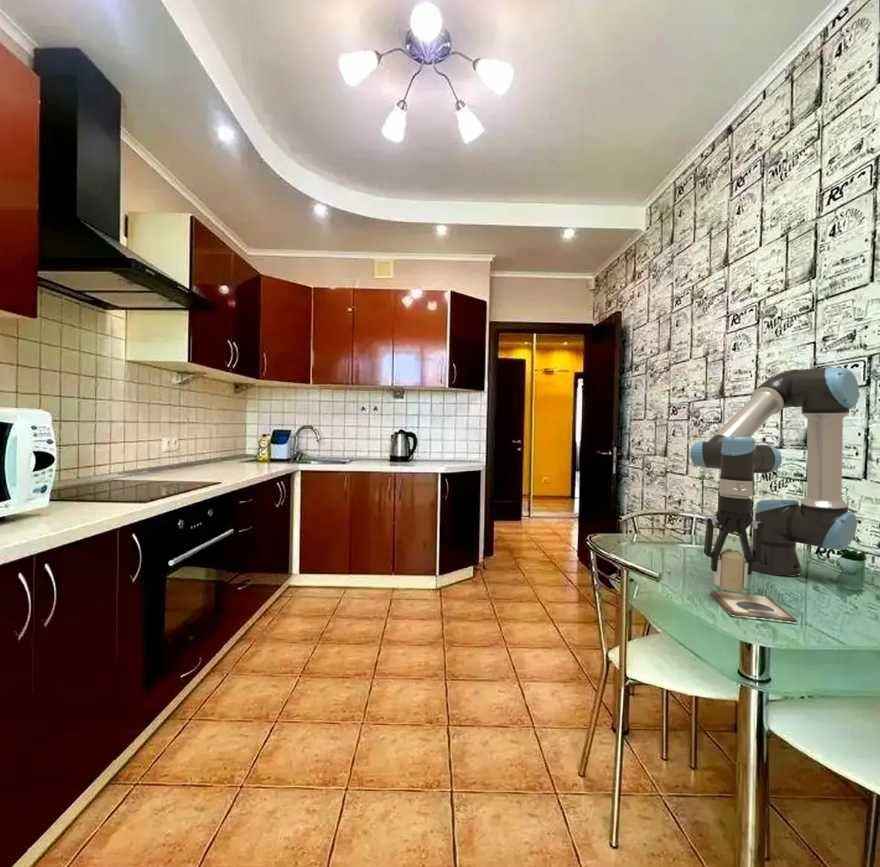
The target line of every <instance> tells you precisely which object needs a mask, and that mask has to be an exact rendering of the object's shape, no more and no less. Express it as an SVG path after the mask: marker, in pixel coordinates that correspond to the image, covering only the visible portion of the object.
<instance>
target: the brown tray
mask: <svg viewBox="0 0 880 867" xmlns="http://www.w3.org/2000/svg"><path fill="white" fill-rule="evenodd" d="M709 594H710V596H711V597H712V598H713V599H714V600H715V601H716V603H718V605H719V606H722V607H723V608H724V609H725V610H726V611H727V612H729V613H730V614H731V615H735V616H748V617H756V618H765V619H774V620H782V621H791V622H797V623H798V620H797V618H795V617H794V616H792V615H791V614H790V613H789V612H788V611H786V610H785V609H784V608H783V607H781V606H780V605H779V604H777V602H775V601H774V600H773V599H772V598H770V597H769V596H764V595H758V594H757V595H755V594H745V593H737V592H729V591H728V592H727V591H720V590H719V591H718V590H710V593H709ZM722 607H721V608H722ZM723 608H722V609H723ZM724 609H723V610H724ZM725 610H724V611H725ZM726 611H725V612H726ZM727 612H726V613H727Z"/></svg>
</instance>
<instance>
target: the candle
mask: <svg viewBox="0 0 880 867" xmlns="http://www.w3.org/2000/svg"><path fill="white" fill-rule="evenodd" d="M719 559H720V560H721V577H720V586H717V587H718V588H719V589H722V590H725V591H726V592H727V591H728V592H733V593H737V592H742V590H743V587H742V584H743V567H744V561H745V558H744V555H742V554H741V552H740V551H739V550H733V549H731V548H727V549H725V550H723V551H721V553H720V555H719Z"/></svg>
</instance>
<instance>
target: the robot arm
mask: <svg viewBox="0 0 880 867" xmlns="http://www.w3.org/2000/svg"><path fill="white" fill-rule="evenodd" d="M859 388H860V387H859V384H858V380H857V378H856V375H854V373H853V372H852V371H851V370H850V369H848V368H846V367H831V366H829V367H819V368H802V369H790V370H785V371H783V372H780V373H777V374H775V375H774V376H771V377H770V378H769V379H767V380H765V381H764V382H763V383H761V384H760V385H758V386H757V388H755V389H754V390H753V391H752V392H751V394H750V399H749V400H748V401H747V402H746V403H745V404H744V405H743V406H742V407H741V408H740V409H739V410H738V411H737V412H736V413H735V414H734V415H733V416H731V418H730V419H728V421H727V422H726V423H724V425H723V426H722V427H721V428H720V429H719V430H718V431H717V432H716V433H715V434H714V435H713V436H712V437H711V438H710V439H708V441H705V440H702V441H696V442H695V443H693V444H692V446H691V448H690V453H689V456H690V459H691V463H692V464H693V465H694V466H696V467H700V468H706V469H715V470H720V476H719V485H718V486H719V488H718V493H719V494H720V495H719V496H718V503H717V504H718V508H717V513H716V514H715V516H711V517H707V516H705V517H704V522H705V537H704V543H703V544H704V547H703V553H704V555H705V556H707V557H709V558H710V570H711V571H712V572H714V575H713V583H714V585H716V586H717V587H718V586H720V577H721V560H720V554H721V553H722V550H723V548H724V545H725V542H726V539H727V537H728V536H729V534H730V533H736V534H738V538H739V541H740V545H741V549H742V552H743V557H744V567H743V584H742V589H747V588H748V587H747V586H748V576H751V575H752V572H753V571H755V572H759V573H763V574H767V575H772V574H773V575H774V576H779V575H786V576H785V577H791V576H790V575H798V574H800V573H801V574H802V567H801V566H802V565H801V564H800V559H799V556H798V553H797V549H796V548H797V543H798V544H803V545H807V546H808V545H809V546H813V547H817V548H823V549H824V550H825V549H826V550H834V551H842V550H845V549H846V548H848V547H849V545H851V543H852V541H853V539H854V538H855V535H856V532H857V529H858V520H857V516H856V515H855V513H852V512H851V511H849V504H848V503H847V502H845V501H844V500H843V498H842V497H843V495H842V494H843V492H842V491H843V490H842V489H843V436H844V435H843V434H844V433H843V431H844V430H843V429H844V419H845V418H846V416H848V415H849V414H850V408H854V407H855V406H856V405H857V403H858V401H859V397H860V389H859ZM785 408H801V415H802V416H804V417H805V418H806V420H807V434H806V435H807V441H806V442H807V443H806V444H807V445H806V447H807V450H806V451H807V453H806V454H807V455H806V457H807V458H806V461H807V462H806V464H807V465H806V496H805V498H804V499H802V500H801V501H800V503H799V501H798V500H795V499H761V500H759V501H757V503H756V505H755V513H754V519H753V517H752V508H753V507H752V504H753V503H752V502H753V499H752V498H751V497H752V496H753V485H754V474H767V473H768V474H769V473H773V472H776V471H777V470H778V469H779V468H780V466H781V465H782V461H783V460H782V459H783V457H782V454H781V452H780V450H778V449H777V447H775V446H773V445H768V444H756V440H755V439H754V437H752V436H753V435H754V434H755V433H756V432H757V431H758V430H759V428H761V427H762V425H764V423H766V421H767V420H768V419H769V418H771V416H772V415H776V414H778V413H780V412H781V411H782V410H784V409H785ZM716 523H718V524H719V526H720V528H719V532H718V535H717V539H716V540H715V543H714V545H713V539H714V530H715V527H714V526H716ZM749 526H751V528H752V547H751V546H750V544H749V539H748V533H747V529H748V528H749ZM712 547H713V548H712ZM787 575H789V576H787Z"/></svg>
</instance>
